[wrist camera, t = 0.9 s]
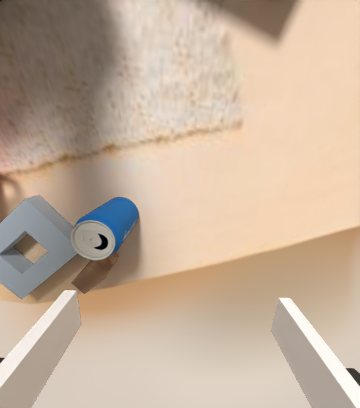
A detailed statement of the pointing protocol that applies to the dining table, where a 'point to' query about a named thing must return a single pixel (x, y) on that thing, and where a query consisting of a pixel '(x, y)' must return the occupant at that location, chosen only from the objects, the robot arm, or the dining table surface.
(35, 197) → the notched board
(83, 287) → the tab
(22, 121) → the dining table surface
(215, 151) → the dining table surface
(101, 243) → the beverage can
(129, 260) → the dining table surface
